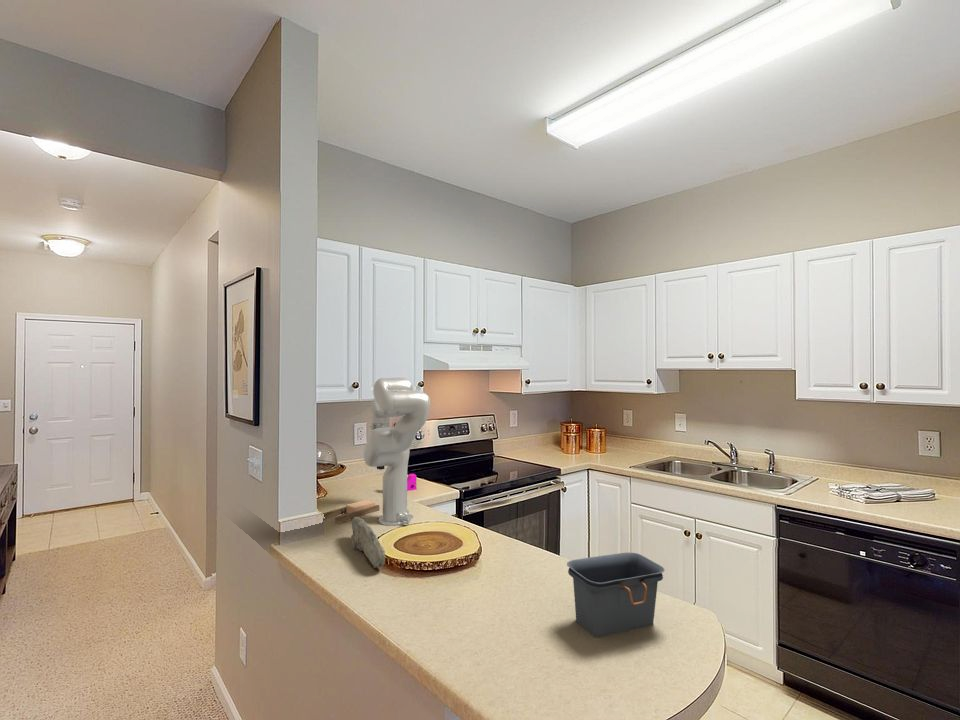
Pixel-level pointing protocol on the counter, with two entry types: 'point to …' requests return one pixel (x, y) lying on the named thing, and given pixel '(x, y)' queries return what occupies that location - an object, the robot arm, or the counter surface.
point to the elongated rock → (367, 542)
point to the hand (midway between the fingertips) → (380, 468)
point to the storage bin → (614, 592)
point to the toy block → (411, 482)
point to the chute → (350, 515)
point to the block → (359, 506)
